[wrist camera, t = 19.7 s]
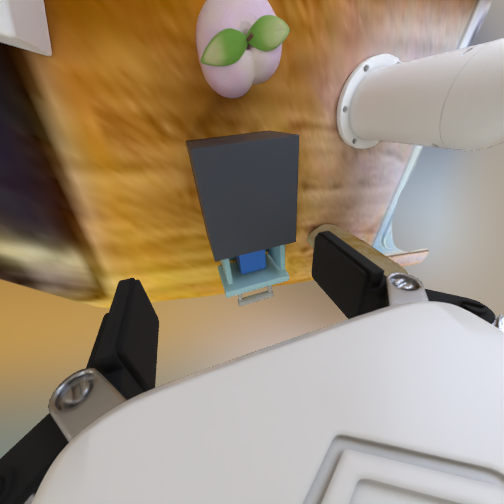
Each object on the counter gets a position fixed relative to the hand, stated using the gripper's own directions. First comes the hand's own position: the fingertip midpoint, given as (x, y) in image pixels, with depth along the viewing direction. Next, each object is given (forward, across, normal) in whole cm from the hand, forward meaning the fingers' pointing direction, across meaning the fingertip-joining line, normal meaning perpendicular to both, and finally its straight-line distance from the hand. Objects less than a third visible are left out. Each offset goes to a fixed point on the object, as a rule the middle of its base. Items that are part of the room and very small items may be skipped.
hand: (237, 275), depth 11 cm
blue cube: (+24, -6, +14) cm, 29 cm away
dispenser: (+26, -6, +3) cm, 27 cm away
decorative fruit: (+26, -7, -13) cm, 30 cm away
